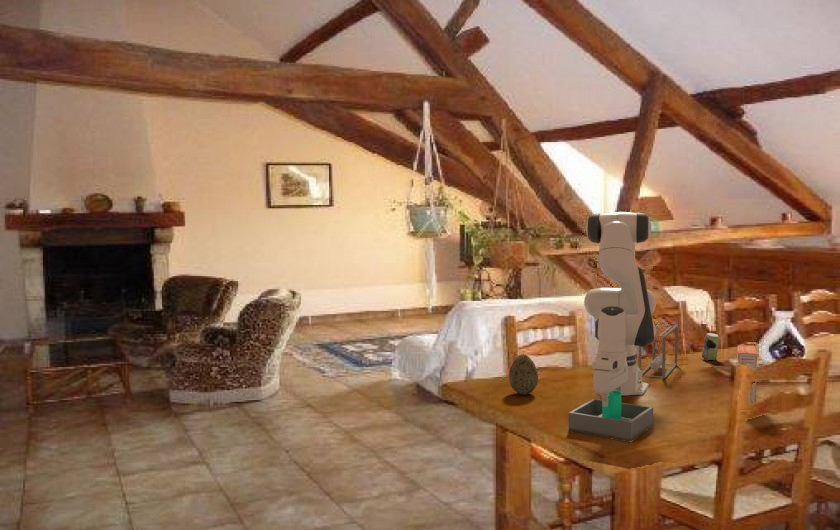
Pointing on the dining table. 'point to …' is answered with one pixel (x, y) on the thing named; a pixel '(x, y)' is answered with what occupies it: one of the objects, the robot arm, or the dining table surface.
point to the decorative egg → (523, 375)
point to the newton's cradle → (661, 357)
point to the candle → (613, 406)
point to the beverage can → (710, 346)
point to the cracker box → (749, 357)
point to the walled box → (611, 421)
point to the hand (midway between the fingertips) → (611, 402)
